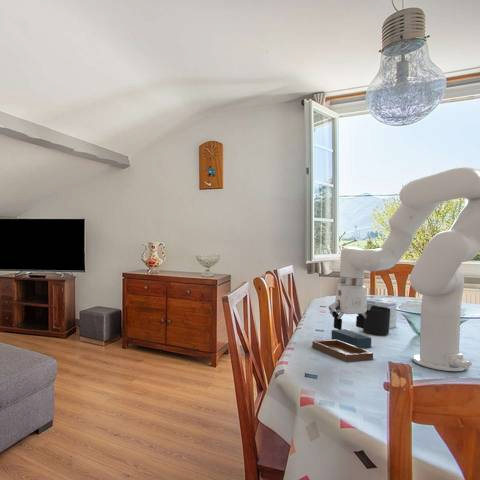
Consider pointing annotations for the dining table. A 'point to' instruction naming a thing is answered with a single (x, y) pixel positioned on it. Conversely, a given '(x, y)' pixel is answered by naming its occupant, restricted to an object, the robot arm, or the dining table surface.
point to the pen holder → (377, 321)
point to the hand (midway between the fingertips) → (348, 328)
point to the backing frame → (342, 350)
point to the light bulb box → (387, 304)
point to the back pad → (352, 338)
